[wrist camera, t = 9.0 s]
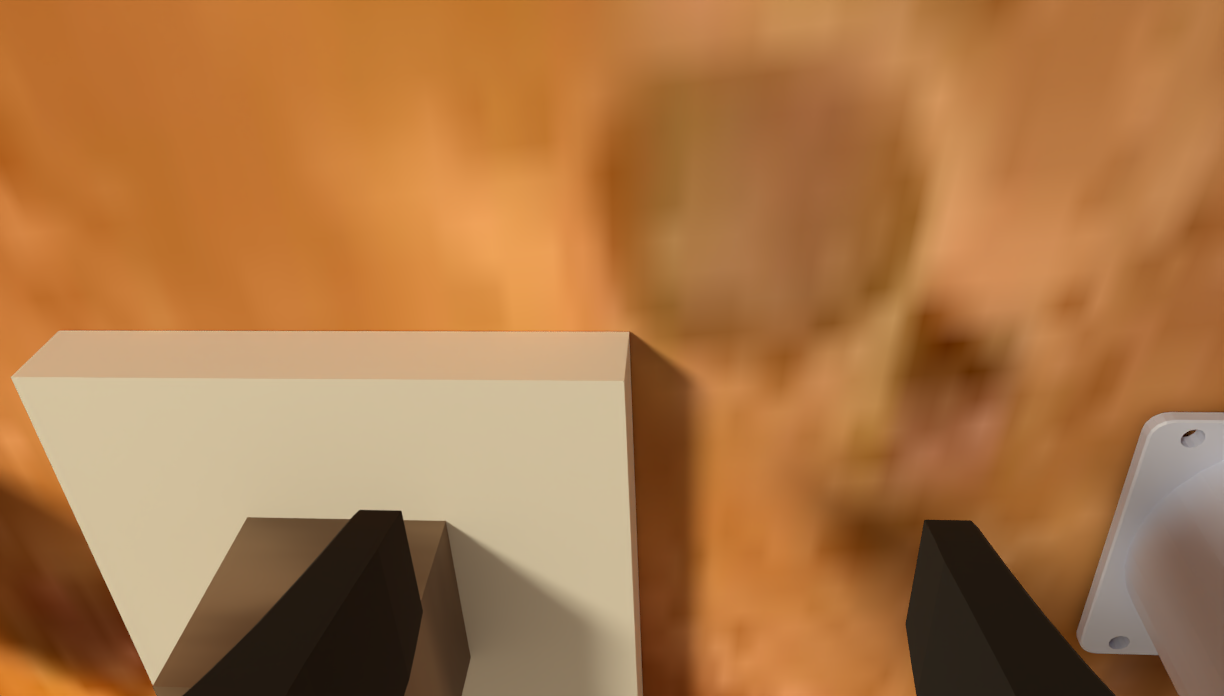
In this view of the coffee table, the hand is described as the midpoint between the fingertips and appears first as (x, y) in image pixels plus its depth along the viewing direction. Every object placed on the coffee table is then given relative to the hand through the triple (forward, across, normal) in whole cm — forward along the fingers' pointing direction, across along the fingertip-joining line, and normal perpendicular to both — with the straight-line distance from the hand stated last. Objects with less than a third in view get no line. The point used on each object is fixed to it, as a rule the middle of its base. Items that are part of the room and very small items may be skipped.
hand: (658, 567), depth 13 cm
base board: (+9, +8, +9) cm, 15 cm away
